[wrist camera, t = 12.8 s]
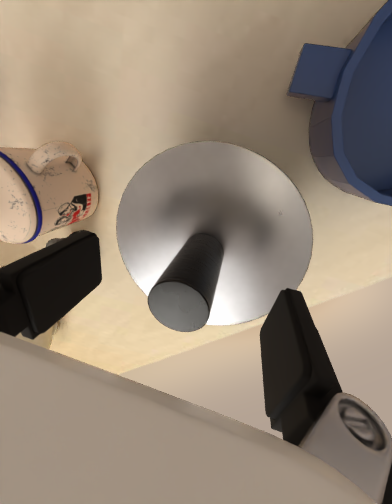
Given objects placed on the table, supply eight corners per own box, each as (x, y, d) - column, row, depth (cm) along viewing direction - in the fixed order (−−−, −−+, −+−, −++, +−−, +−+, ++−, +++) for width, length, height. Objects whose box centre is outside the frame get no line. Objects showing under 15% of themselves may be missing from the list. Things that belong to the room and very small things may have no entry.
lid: (125, 122, 13) (5, 86, 6) (352, 169, 11) (497, 183, 5) (123, 289, 19) (64, 352, 13) (264, 334, 18) (275, 433, 11)
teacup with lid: (77, 232, 28) (-18, 272, 18) (30, 178, 26) (-108, 190, 16) (129, 182, 23) (36, 200, 13) (74, 111, 21) (-85, 66, 11)
